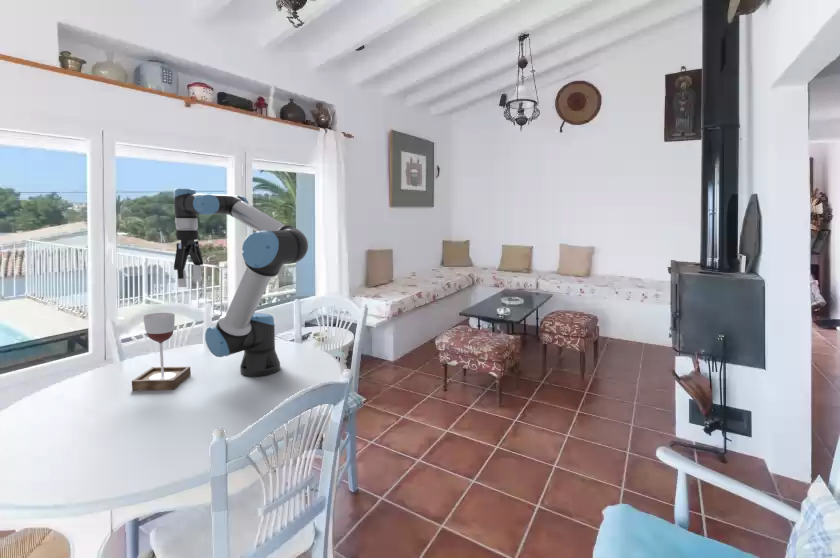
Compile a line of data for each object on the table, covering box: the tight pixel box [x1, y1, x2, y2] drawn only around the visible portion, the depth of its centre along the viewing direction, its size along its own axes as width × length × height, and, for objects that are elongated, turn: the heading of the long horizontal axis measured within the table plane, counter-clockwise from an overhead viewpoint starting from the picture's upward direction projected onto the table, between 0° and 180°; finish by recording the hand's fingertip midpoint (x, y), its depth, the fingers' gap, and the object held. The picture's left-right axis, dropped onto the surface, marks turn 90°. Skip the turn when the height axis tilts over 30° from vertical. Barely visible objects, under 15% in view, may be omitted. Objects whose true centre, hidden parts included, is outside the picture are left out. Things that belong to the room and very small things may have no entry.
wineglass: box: [143, 312, 176, 380], centre depth 159 cm, size 9×10×23 cm
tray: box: [131, 366, 192, 391], centre depth 162 cm, size 14×14×4 cm
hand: (190, 284), depth 171 cm, fingers open, 13 cm apart
